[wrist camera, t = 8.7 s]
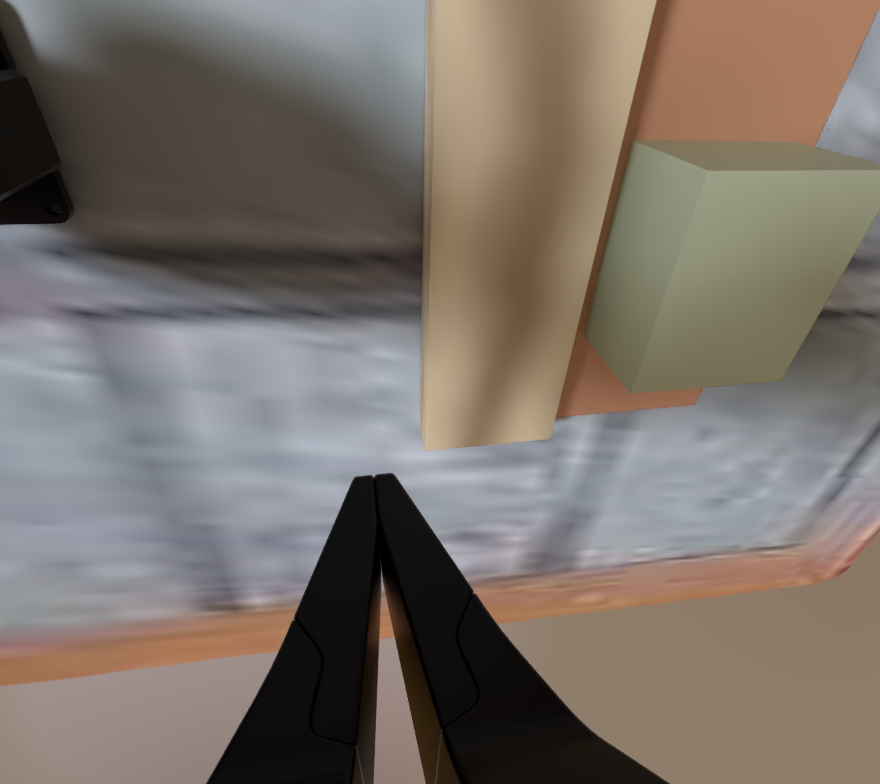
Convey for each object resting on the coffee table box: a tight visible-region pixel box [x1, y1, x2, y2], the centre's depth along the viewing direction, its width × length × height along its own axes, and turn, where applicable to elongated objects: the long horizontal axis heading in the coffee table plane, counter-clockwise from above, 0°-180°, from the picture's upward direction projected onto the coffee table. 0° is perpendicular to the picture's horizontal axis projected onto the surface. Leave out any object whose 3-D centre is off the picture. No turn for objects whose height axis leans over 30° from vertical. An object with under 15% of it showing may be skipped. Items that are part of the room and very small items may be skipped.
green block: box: [583, 140, 880, 394], centre depth 21 cm, size 5×9×8 cm
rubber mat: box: [556, 0, 880, 417], centre depth 23 cm, size 10×20×1 cm, turn 178°
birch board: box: [420, 0, 656, 451], centre depth 21 cm, size 7×20×2 cm, turn 178°
